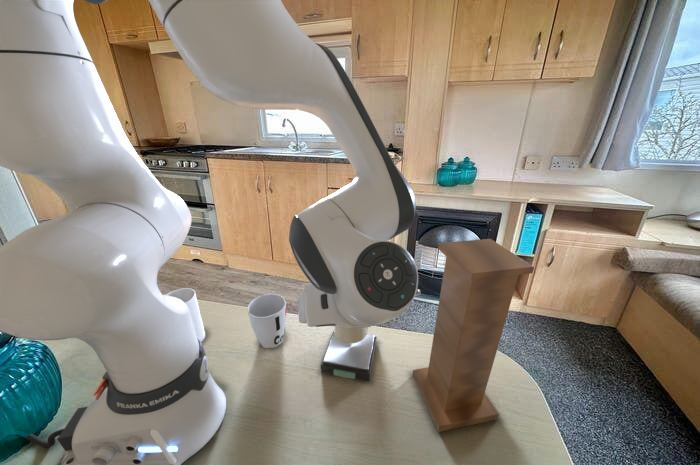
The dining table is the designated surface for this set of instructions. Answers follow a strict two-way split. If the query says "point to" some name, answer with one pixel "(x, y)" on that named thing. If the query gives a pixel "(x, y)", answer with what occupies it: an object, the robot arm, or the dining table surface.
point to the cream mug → (350, 334)
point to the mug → (191, 308)
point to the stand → (468, 331)
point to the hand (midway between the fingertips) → (350, 308)
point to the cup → (268, 319)
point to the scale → (349, 358)
